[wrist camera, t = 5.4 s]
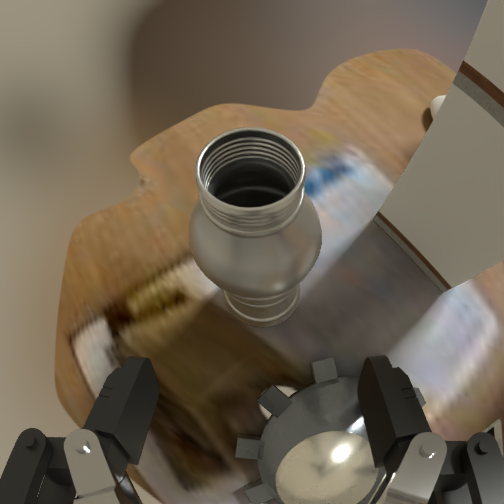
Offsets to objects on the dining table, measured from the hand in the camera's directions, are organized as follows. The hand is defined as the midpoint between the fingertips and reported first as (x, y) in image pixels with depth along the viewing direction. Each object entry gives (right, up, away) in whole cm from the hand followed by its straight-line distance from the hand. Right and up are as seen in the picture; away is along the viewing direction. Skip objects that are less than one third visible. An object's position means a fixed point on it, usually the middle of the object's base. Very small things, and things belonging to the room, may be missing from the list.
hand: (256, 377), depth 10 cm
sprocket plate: (+8, -14, +12) cm, 20 cm away
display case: (+21, +7, +20) cm, 30 cm away
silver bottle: (+1, 0, +18) cm, 18 cm away
